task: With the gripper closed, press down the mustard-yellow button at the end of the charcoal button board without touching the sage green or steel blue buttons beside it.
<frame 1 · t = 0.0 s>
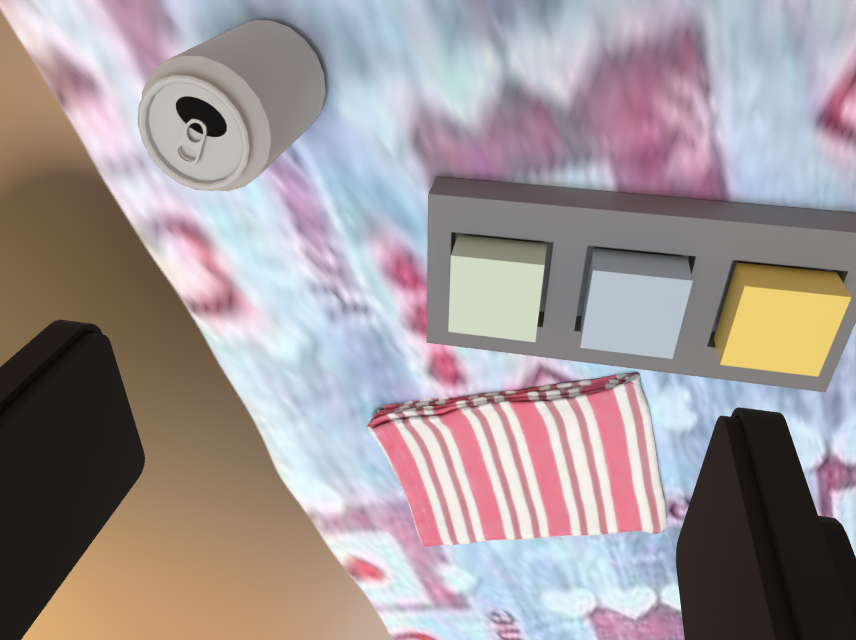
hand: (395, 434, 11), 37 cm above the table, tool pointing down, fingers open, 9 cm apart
sage button: (496, 288, 47), point 4 cm above the table, slide at 0.0 cm
can: (277, 76, 46), on the table
mustard button: (777, 319, 44), point 4 cm above the table, slide at 0.0 cm
blue button: (632, 303, 46), point 4 cm above the table, slide at 0.0 cm
dish towel: (521, 456, 62), on the table
button board: (630, 273, 49), on the table
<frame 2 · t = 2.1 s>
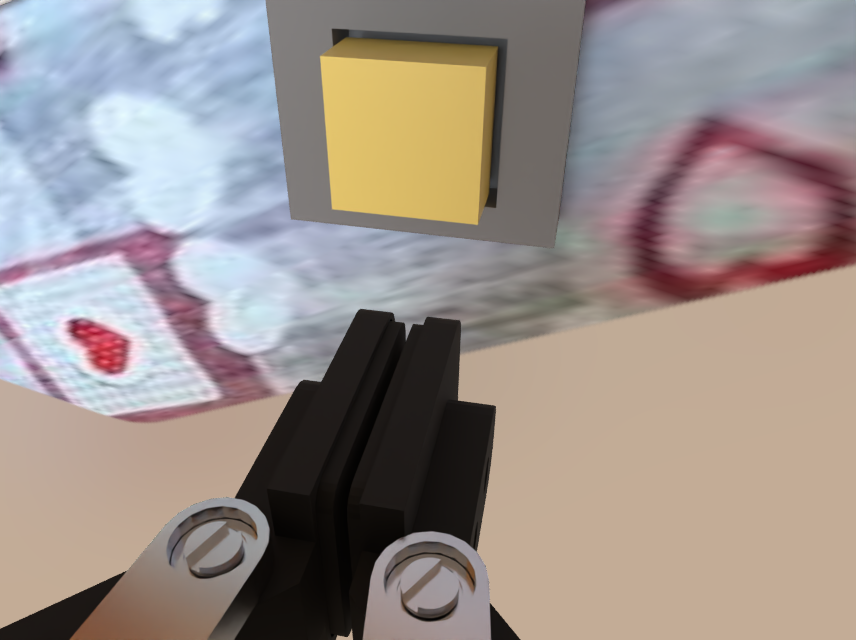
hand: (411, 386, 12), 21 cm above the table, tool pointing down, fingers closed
mustard button: (412, 130, 27), point 4 cm above the table, slide at 0.0 cm
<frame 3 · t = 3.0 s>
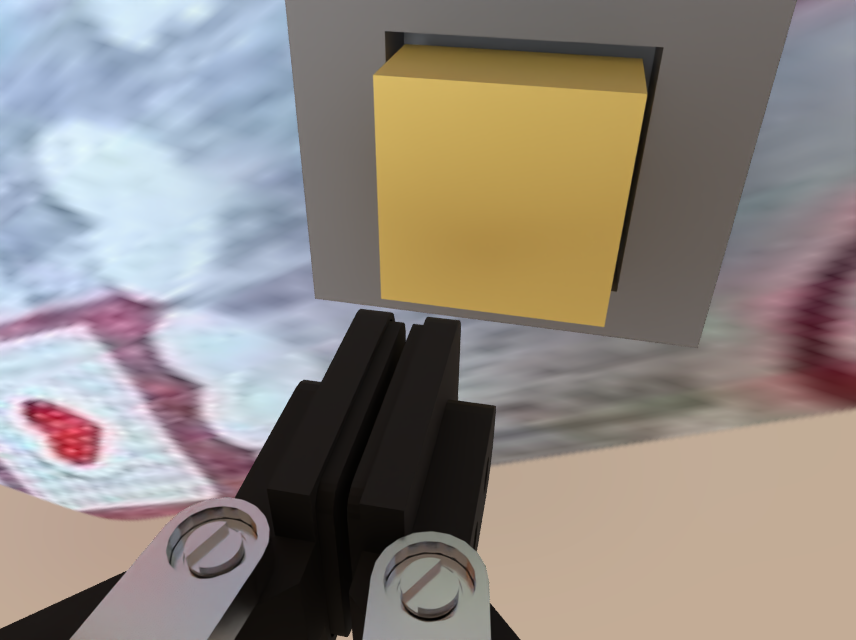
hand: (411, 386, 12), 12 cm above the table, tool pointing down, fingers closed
mustard button: (504, 185, 18), point 4 cm above the table, slide at 0.0 cm
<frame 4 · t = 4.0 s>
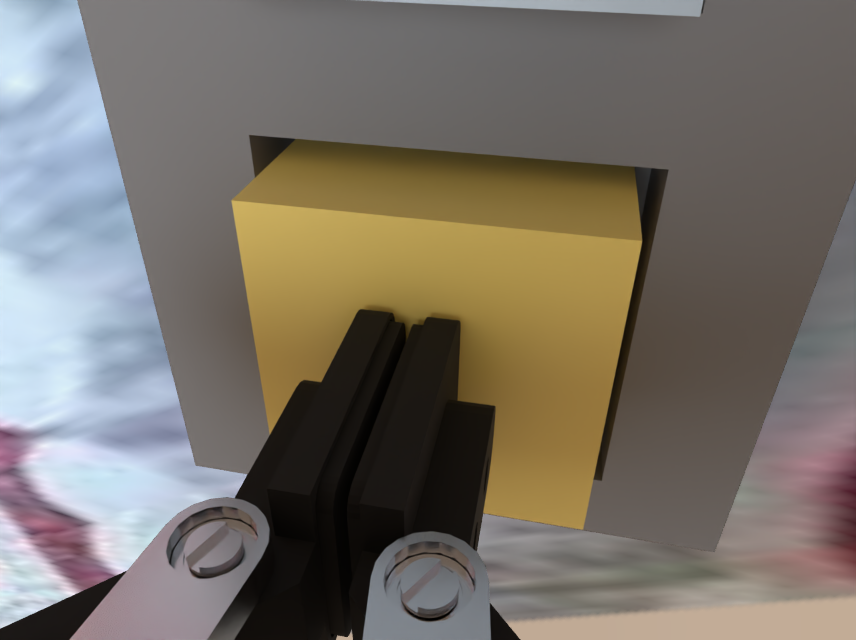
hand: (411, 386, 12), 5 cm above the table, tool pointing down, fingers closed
mustard button: (442, 331, 13), point 3 cm above the table, slide at 0.8 cm, touching gripper
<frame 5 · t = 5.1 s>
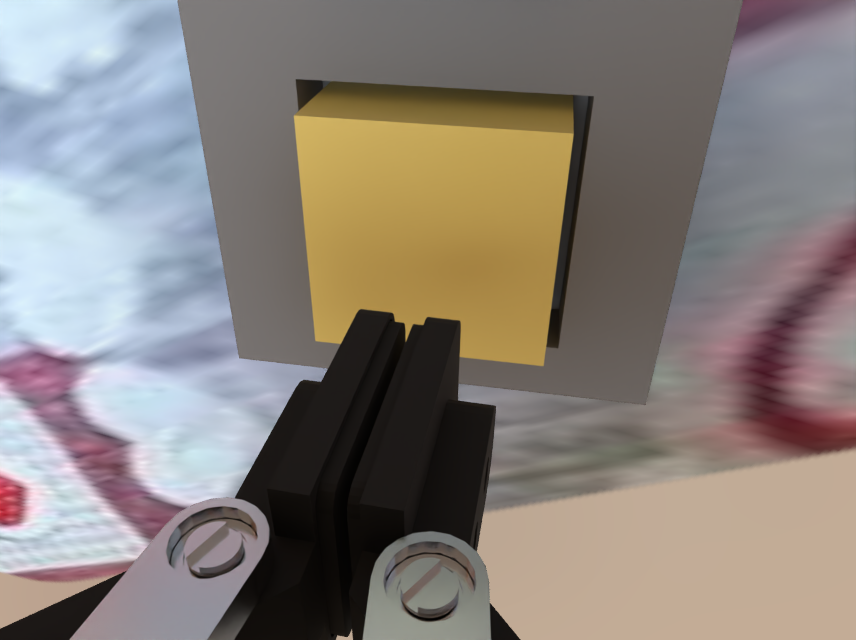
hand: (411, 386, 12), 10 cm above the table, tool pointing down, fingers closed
mustard button: (438, 223, 18), point 3 cm above the table, slide at 1.1 cm
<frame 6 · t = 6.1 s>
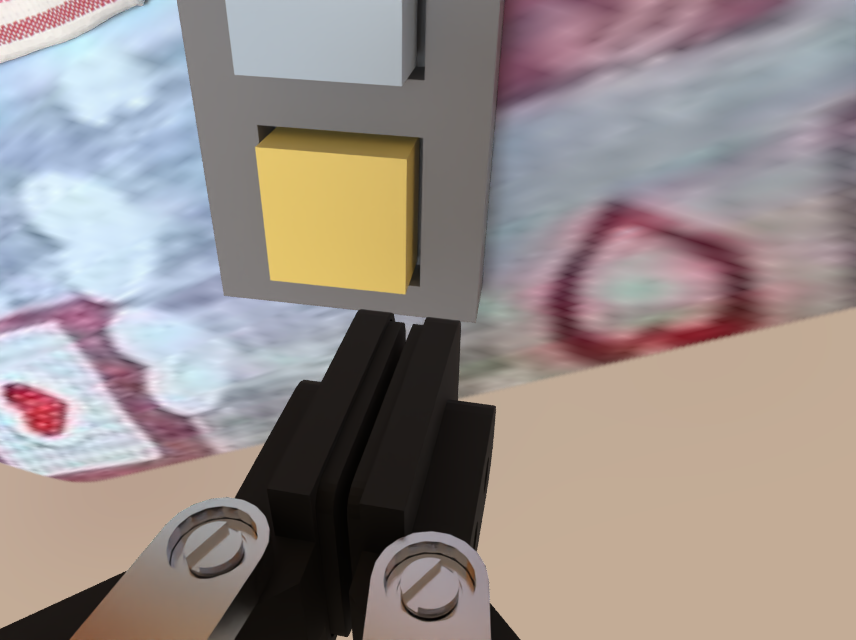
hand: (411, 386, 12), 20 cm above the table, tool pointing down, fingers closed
mustard button: (343, 209, 30), point 3 cm above the table, slide at 1.1 cm
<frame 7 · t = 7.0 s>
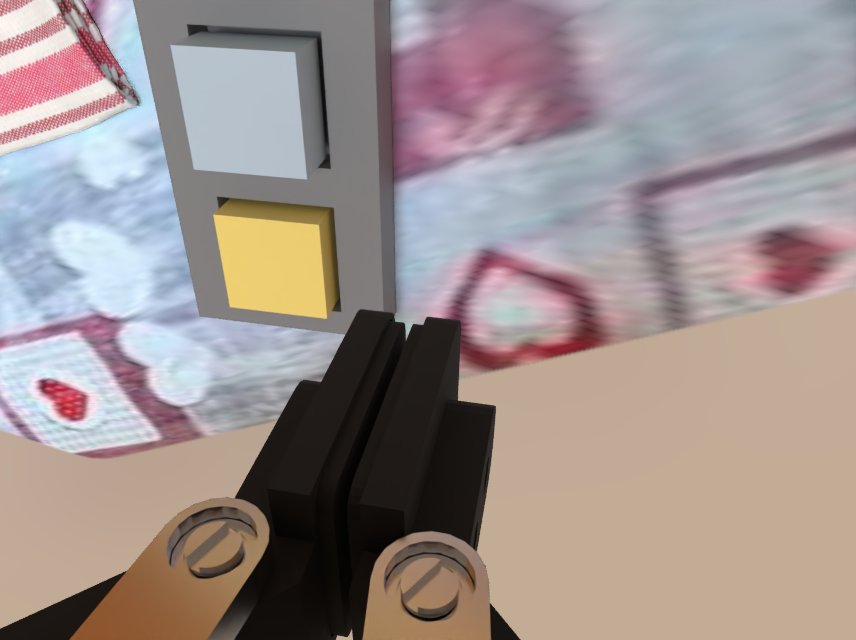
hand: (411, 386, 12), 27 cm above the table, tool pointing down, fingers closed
mustard button: (281, 255, 40), point 3 cm above the table, slide at 1.1 cm
blue button: (253, 105, 34), point 4 cm above the table, slide at 0.0 cm
button board: (283, 83, 37), on the table
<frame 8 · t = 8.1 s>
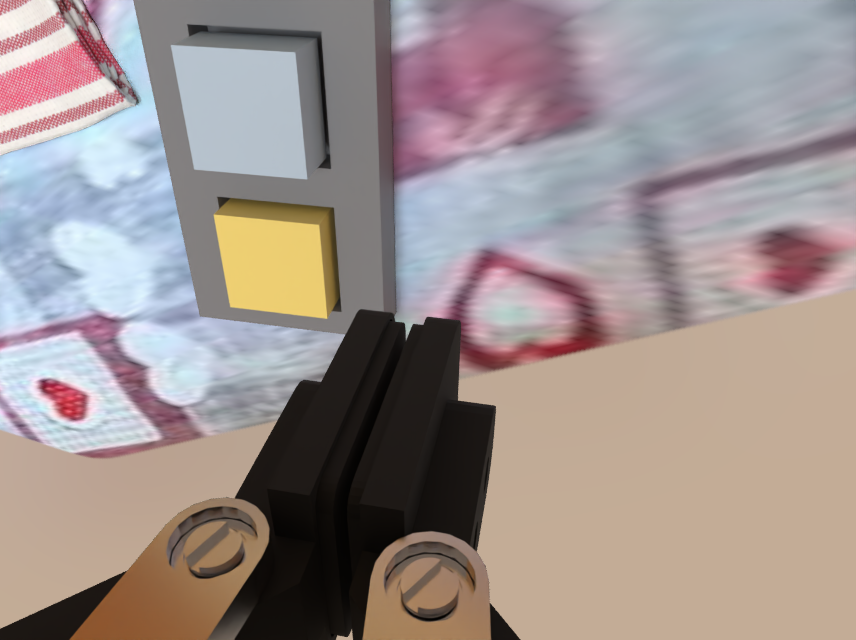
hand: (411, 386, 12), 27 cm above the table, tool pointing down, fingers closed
mustard button: (281, 255, 40), point 3 cm above the table, slide at 1.1 cm
blue button: (254, 105, 34), point 4 cm above the table, slide at 0.0 cm
button board: (283, 83, 37), on the table
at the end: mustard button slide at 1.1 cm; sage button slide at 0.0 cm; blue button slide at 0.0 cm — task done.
